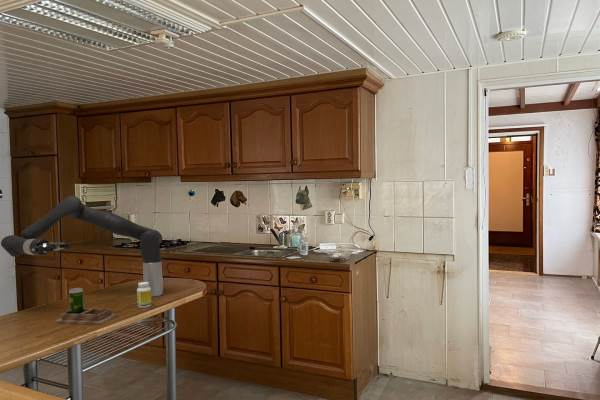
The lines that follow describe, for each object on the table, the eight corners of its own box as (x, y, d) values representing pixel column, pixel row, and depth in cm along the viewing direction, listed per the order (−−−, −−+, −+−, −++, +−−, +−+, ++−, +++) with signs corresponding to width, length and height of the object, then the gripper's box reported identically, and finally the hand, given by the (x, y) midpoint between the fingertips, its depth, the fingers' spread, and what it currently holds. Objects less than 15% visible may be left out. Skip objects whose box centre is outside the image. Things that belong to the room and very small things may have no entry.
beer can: (80, 314, 194) (79, 287, 193) (86, 316, 190) (85, 288, 190) (68, 317, 190) (66, 289, 189) (73, 319, 186) (72, 291, 186)
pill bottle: (154, 304, 209) (153, 281, 209) (145, 308, 203) (144, 284, 203) (143, 303, 211) (142, 281, 211) (134, 307, 206) (133, 284, 205)
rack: (55, 323, 185) (54, 315, 185) (74, 314, 197) (73, 306, 197) (100, 325, 182) (100, 316, 181) (117, 315, 193) (117, 308, 193)
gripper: (21, 241, 197) (46, 241, 191) (50, 236, 210) (74, 237, 204) (22, 257, 198) (47, 259, 191) (51, 252, 211) (75, 253, 204)
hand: (61, 247), depth 198 cm, fingers open, 8 cm apart
